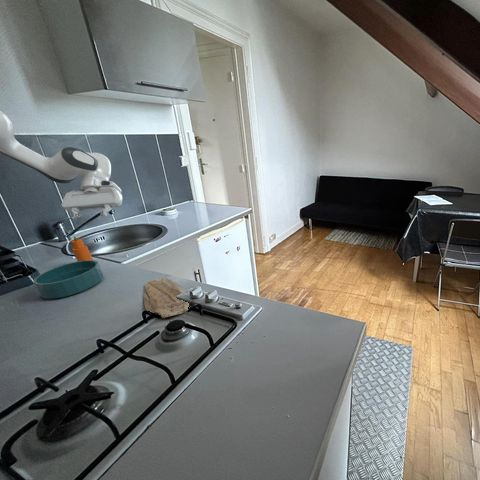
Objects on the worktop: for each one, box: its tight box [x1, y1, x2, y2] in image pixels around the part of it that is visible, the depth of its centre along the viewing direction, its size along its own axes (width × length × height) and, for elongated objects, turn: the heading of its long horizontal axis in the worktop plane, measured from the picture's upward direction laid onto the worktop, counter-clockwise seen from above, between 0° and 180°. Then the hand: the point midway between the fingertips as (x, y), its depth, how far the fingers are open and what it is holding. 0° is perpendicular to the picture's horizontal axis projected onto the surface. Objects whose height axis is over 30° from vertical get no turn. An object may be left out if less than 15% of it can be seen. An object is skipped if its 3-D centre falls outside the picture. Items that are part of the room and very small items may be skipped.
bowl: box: [32, 259, 104, 300], centre depth 83 cm, size 15×15×6 cm
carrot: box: [70, 236, 94, 262], centre depth 96 cm, size 4×4×11 cm
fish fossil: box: [142, 277, 190, 319], centre depth 75 cm, size 26×10×1 cm, turn 48°
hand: (90, 217), depth 104 cm, fingers open, 8 cm apart
